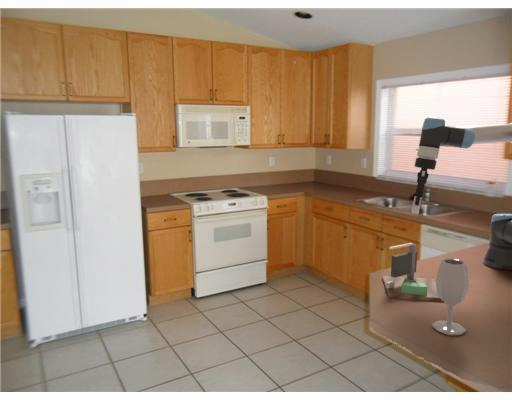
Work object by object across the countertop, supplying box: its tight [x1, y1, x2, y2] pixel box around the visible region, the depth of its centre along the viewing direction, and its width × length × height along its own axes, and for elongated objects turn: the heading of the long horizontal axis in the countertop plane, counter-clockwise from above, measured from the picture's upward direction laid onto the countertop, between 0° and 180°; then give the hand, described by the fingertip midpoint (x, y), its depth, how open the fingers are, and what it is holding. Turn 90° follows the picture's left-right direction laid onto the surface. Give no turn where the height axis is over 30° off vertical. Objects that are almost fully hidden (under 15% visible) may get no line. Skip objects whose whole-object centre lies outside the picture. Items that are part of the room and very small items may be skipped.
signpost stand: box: [389, 242, 418, 283], centre depth 154 cm, size 14×4×15 cm, turn 121°
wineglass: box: [431, 258, 470, 337], centre depth 120 cm, size 9×9×21 cm
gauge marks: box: [385, 281, 428, 295], centre depth 149 cm, size 14×5×3 cm, turn 61°
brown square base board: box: [382, 275, 443, 302], centre depth 153 cm, size 19×20×1 cm
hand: (415, 211), depth 162 cm, fingers open, 13 cm apart
